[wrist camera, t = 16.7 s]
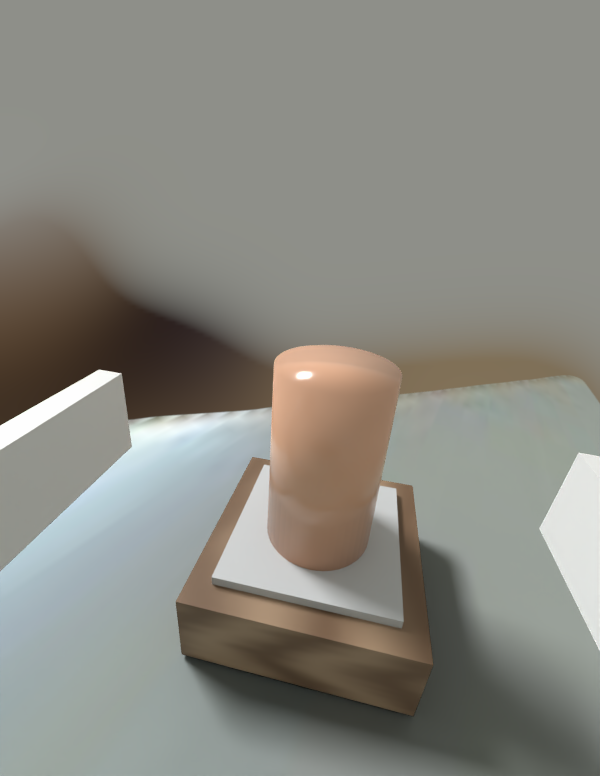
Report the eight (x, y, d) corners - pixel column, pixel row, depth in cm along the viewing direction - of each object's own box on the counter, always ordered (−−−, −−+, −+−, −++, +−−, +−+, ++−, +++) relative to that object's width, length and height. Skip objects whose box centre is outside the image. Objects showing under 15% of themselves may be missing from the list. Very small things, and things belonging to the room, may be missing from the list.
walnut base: (181, 654, 23) (174, 594, 21) (251, 500, 35) (252, 451, 33) (413, 716, 21) (436, 658, 19) (401, 529, 33) (413, 480, 31)
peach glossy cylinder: (253, 557, 23) (257, 382, 18) (280, 484, 29) (289, 339, 24) (367, 582, 22) (406, 404, 17) (370, 501, 28) (399, 353, 23)
